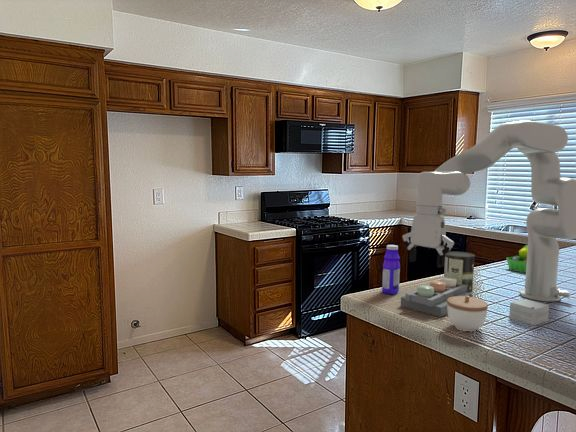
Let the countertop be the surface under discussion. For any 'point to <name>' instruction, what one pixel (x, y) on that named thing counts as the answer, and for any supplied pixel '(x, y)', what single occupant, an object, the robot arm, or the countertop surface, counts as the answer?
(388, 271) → the bottle
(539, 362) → the countertop surface
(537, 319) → the small box
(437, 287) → the peach rounded dome
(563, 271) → the countertop surface
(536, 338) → the countertop surface
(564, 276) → the countertop surface
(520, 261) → the fruit basket
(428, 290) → the sage button
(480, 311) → the lidded jar
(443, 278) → the cream button
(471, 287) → the coffee can
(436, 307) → the grey compartment tray
